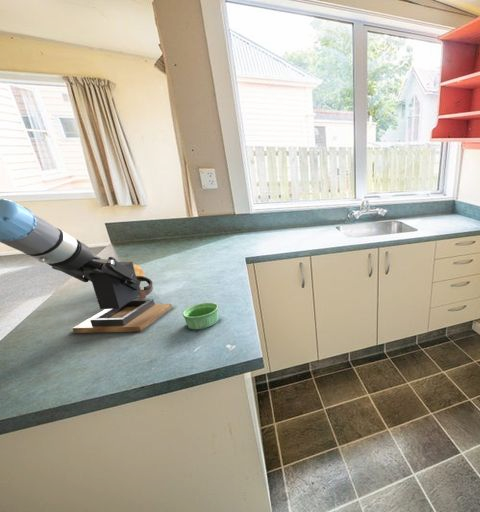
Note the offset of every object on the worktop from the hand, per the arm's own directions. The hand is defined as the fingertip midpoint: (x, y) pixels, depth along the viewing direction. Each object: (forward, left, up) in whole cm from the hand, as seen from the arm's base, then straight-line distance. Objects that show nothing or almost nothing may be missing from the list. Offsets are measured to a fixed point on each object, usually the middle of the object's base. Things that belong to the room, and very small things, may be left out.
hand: (127, 286), depth 90 cm
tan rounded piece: (-17, +21, -9) cm, 29 cm away
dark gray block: (0, -4, -3) cm, 5 cm away
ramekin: (+24, -7, -9) cm, 27 cm away
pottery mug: (-9, +11, -9) cm, 17 cm away
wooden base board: (0, -4, -9) cm, 10 cm away
